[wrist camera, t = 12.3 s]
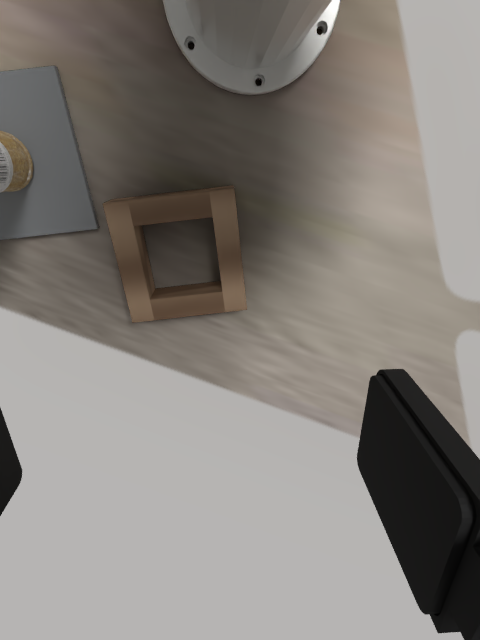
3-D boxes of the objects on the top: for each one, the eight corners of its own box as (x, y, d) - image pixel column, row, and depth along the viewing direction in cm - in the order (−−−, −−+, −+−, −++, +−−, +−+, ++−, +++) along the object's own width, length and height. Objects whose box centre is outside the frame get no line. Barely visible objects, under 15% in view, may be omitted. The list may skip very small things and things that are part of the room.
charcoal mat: (-101, 85, 28) (-108, 84, 27) (57, 67, 28) (54, 65, 27) (-35, 242, 33) (-39, 244, 32) (99, 227, 33) (97, 228, 32)
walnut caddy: (112, 199, 32) (102, 203, 29) (233, 185, 32) (234, 188, 29) (139, 309, 36) (132, 322, 33) (245, 297, 36) (247, 309, 33)
